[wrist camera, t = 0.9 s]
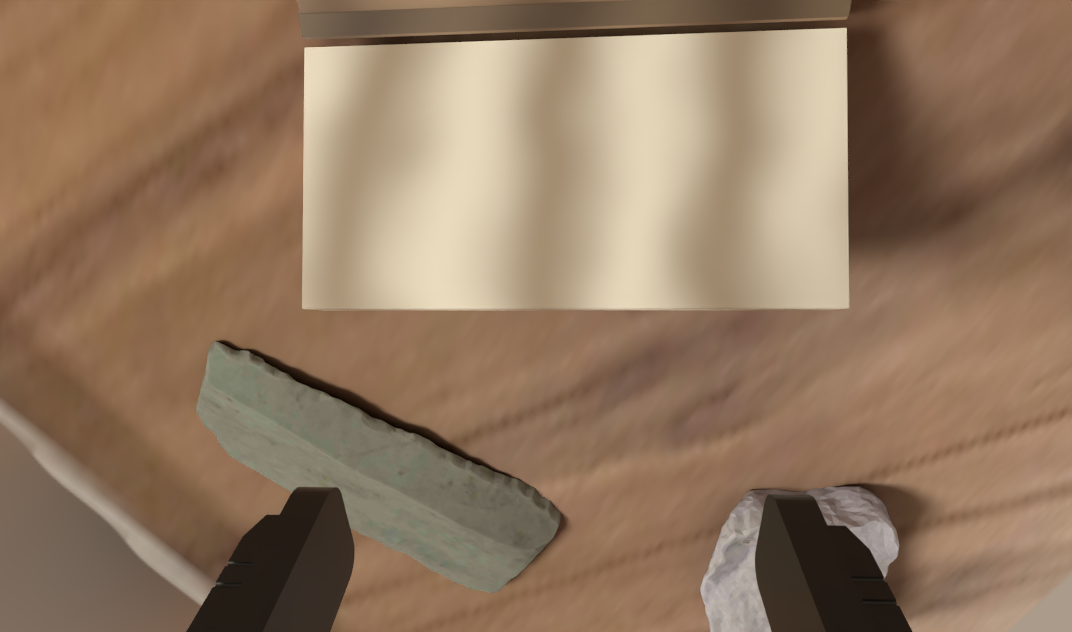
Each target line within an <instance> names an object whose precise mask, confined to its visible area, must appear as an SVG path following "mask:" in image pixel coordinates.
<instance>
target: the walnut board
mask: <svg viewBox="0 0 1072 632" xmlns="http://www.w3.org/2000/svg"><path fill="white" fill-rule="evenodd" d="M851 1H852V0H297V4H298V9H299V14H298V17H299V22H300V27H301V32H302V37H304V39H305V40H318V39H344V38H371V37H397V36H424V35H450V34H477V33H503V32H530V31H556V30H583V29H609V28H636V27H662V26H689V25H715V24H741V23H768V22H794V21H821V20H847V17H849V12H850V7H851Z"/></svg>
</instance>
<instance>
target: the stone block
mask: <svg viewBox="0 0 1072 632" xmlns="http://www.w3.org/2000/svg"><path fill="white" fill-rule="evenodd" d="M769 494H782V495H811V496H813V497H814V498H815V500H816V502H817V504H818V506H819V508H820V510H821V512H822V514H823V517H824V519H825V521H826V523H827V525H837V526H846V527H847V528H848V529H849V530H850V531H851V532H853V533H854V534H855V535H856V536H857V537H858V538H859V539H860V540H861V541H862V542H863V543H864V544H865V545H866V546H867V547H868V548H869V549H870V551H871V553H872V555H873V557H874V559H875V560H876V562H877V564H878V566H879V568H880V570H881V572H882V574H883V576H884V578H885V577H886V575H887V573H888V567H889V564H890V563H892V562H893V561H894V560H895V559H896V558H897V556H898V551H899V539H898V534H897V530H896V528H895V527H894V525H893V524H892V522H891V519H890V517H889V516H888V511H887V508H886V506H885V504H884V503H883V502H882V501H881V500H880V499H879V498H878V497H877V496H876V495H875V494H874V493H873V492H871V491H869V490H867V489H864V488H862V487H861V486H855V487H854V486H853V487H835V486H832V487H828V488H822V489H814V490H809V491H807V492H790V491H782V490H777V489H766V490H763V489H756V490H751V491H748V492H747V493H746V494H745V495H744V497H743V499H741V501H740V502H739V503H738V505H737V506H736V507H735V508H734V509H733V510H732V512H731V513H730V516H729V518H728V519H727V521H726V522H725V524H724V525H723V527H722V530H721V533H720V536H719V539H718V541H717V545H716V548H715V551H714V552H713V554H712V558H711V561H710V563H709V568H708V570H707V571H706V573H705V575H704V578H703V581H702V585H701V589H700V591H701V595H702V598H703V601H704V604H705V610H706V615H707V616H708V618H709V625H710V632H772V631H771V628H770V625H769V621H768V618H767V615H766V612H765V608H764V605H763V602H762V598H761V595H760V592H759V588H758V584H757V579H756V572H755V551H756V545H757V540H758V535H759V529H760V524H761V519H762V513H763V508H764V503H765V499H766V497H767V495H769Z"/></svg>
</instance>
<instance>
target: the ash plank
mask: <svg viewBox="0 0 1072 632" xmlns="http://www.w3.org/2000/svg"><path fill="white" fill-rule="evenodd" d="M846 308H849V237H848V122H847V28H829V29H802V30H775V31H748V32H720V33H693V34H666V35H639V36H611V37H584V38H557V39H530V40H502V41H475V42H448V43H421V44H393V45H366V46H339V47H312V48H305V61H304V168H303V275H302V309H311V310H833V309H846Z"/></svg>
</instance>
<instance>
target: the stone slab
mask: <svg viewBox="0 0 1072 632" xmlns="http://www.w3.org/2000/svg"><path fill="white" fill-rule="evenodd" d="M253 355H254V354H251V353H250V352H249V351H244V350H241V351H237V350H234V349H232V348H230V347H228V346H226V345H224V344H222V343H219V342H213V344H212V345H211V347H210V349H209V351H208V359H207V366H206V372H205V376H204V379H203V382H202V387H201V391H200V395H199V400H198V404H197V407H196V411H197V413H198V415H199V417H200V419H201V420H202V422H203V424H204V425H205V427H206V428H208V429H209V430H211V431H212V432H213V433H214V434H215V435H216V437H217V439H218V441H219V445H220V446H221V447H222V448H224V449H225V450H226V451H227V453H228V454H229V455H230V456H231V457H233V458H234V459H235V460H237V461H239V462H240V463H242V464H244V465H246V466H248V467H250V468H252V469H253V470H255V471H257V472H259V473H260V474H262V475H264V476H265V477H267V478H269V479H270V480H272V481H274V482H276V483H277V484H279V485H281V486H282V487H284V488H285V489H287V490H289V491H290V492H293V491H294V490H295V489H296V488H297V487H337V488H339V490H340V491H341V494H342V497H343V501H344V505H345V509H346V513H347V517H348V521H349V525H350V528H352V529H354V530H356V531H357V532H359V533H360V534H363V535H365V536H368V537H371V538H373V539H375V540H377V541H379V542H380V543H382V544H383V545H384V546H385V547H387V548H391V549H393V550H395V551H398V552H403V553H405V554H407V555H409V556H411V557H412V558H414V559H416V560H417V561H419V562H420V563H422V564H423V565H424V566H426V567H427V568H429V569H430V570H432V571H434V572H437V573H439V574H441V575H443V576H445V577H446V578H448V579H450V580H452V581H453V582H455V583H458V584H462V585H465V586H466V587H468V588H470V589H474V590H481V591H486V592H490V593H495V592H497V591H500V590H501V589H502V588H503V586H504V585H506V584H507V583H508V581H509V580H510V579H512V578H514V577H516V576H517V575H518V574H519V573H520V572H521V571H522V570H523V569H525V568H526V566H527V565H528V564H529V563H530V562H531V561H532V560H533V559H534V558H535V557H536V555H538V554H539V553H540V552H541V551H542V550H543V549H544V547H545V546H546V545H547V544H548V543H549V542H550V541H551V540H552V539H553V537H554V536H555V533H556V531H557V528H558V526H559V524H560V520H561V514H560V512H559V511H558V510H557V509H556V508H555V507H554V506H553V505H552V503H551V501H550V500H548V499H546V498H544V497H542V496H540V494H539V493H538V492H537V490H536V489H535V488H534V487H531V486H529V485H526V484H525V483H523V482H522V481H520V480H519V479H517V478H511V477H508V476H506V475H503V474H500V473H497V472H494V471H492V470H490V469H488V468H486V467H484V466H482V465H476V464H475V463H473V462H471V461H468V460H465V459H464V458H462V457H460V456H458V455H456V454H453V453H451V452H449V451H447V450H445V449H443V448H440V447H438V446H436V445H435V444H434V443H433V442H431V441H430V440H428V439H426V438H424V437H422V436H420V435H418V434H415V433H409V432H406V431H404V430H403V429H399V428H395V427H393V426H390V425H389V424H387V423H386V422H384V421H382V420H379V419H376V418H373V417H371V416H369V415H368V414H366V413H365V412H364V411H362V410H361V409H359V408H356V407H353V406H351V405H349V404H347V403H345V402H343V401H342V400H340V399H337V398H334V397H331V396H330V395H328V394H327V393H325V392H323V391H319V390H316V389H313V388H310V387H308V386H306V385H303V384H301V383H298V382H296V381H295V380H294V379H293V378H292V377H291V376H290V375H289V374H287V373H284V372H281V371H279V370H278V369H276V368H275V367H272V366H270V365H269V364H267V363H265V362H263V361H264V360H263V359H262V358H260V357H258V356H255V355H254V356H253Z"/></svg>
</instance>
